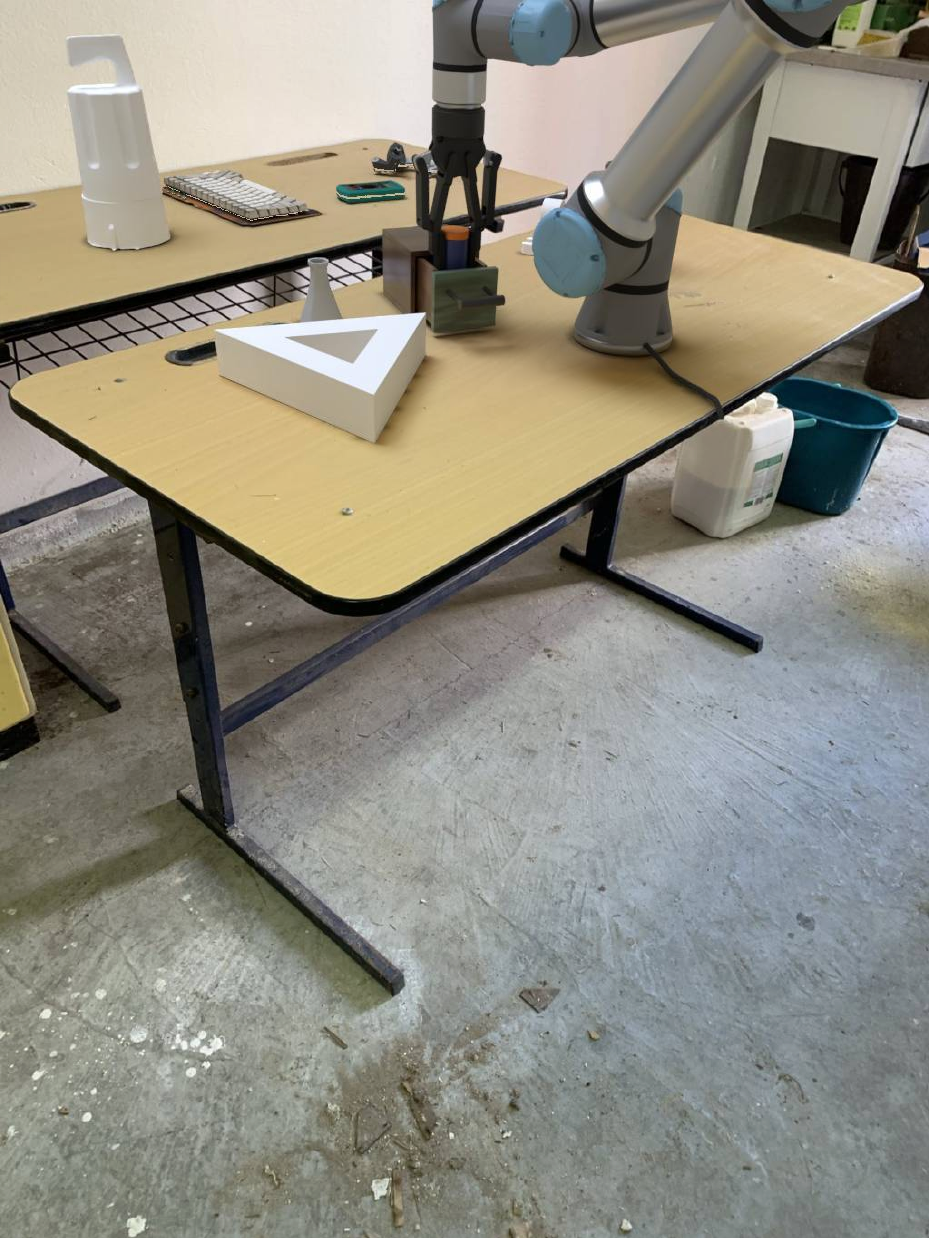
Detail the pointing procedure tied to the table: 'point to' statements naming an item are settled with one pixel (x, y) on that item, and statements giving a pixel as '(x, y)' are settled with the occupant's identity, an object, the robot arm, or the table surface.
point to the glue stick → (456, 247)
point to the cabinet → (403, 264)
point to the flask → (319, 294)
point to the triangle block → (329, 366)
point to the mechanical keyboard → (235, 197)
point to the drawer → (456, 295)
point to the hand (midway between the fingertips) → (454, 274)
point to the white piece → (115, 151)
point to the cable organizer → (546, 208)
